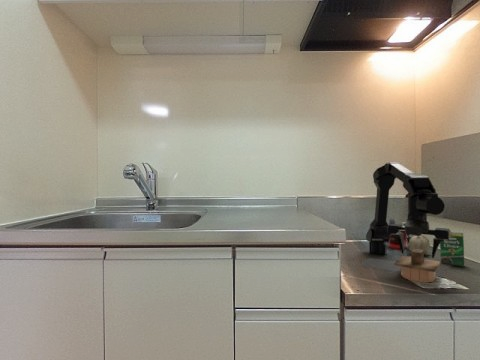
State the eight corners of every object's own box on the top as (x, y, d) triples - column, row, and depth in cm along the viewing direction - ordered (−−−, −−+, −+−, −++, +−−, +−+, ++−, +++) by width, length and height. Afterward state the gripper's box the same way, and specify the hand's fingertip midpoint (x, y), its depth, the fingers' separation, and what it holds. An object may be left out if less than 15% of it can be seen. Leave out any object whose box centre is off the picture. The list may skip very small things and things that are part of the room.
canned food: (404, 246, 152) (404, 225, 152) (408, 250, 144) (407, 227, 144) (388, 245, 154) (388, 224, 154) (390, 249, 147) (390, 227, 147)
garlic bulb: (427, 253, 139) (427, 231, 139) (435, 257, 131) (434, 235, 131) (405, 252, 141) (405, 231, 141) (411, 256, 133) (410, 234, 133)
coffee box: (439, 263, 122) (439, 231, 122) (440, 262, 124) (440, 230, 124) (464, 267, 117) (463, 234, 117) (464, 265, 119) (464, 232, 119)
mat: (358, 266, 120) (358, 265, 120) (370, 259, 130) (370, 257, 130) (396, 273, 111) (396, 272, 110) (406, 265, 121) (406, 263, 121)
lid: (394, 265, 104) (394, 251, 104) (402, 257, 114) (402, 245, 113) (434, 272, 97) (434, 257, 97) (440, 263, 106) (440, 250, 106)
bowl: (398, 279, 105) (398, 265, 105) (405, 272, 112) (405, 258, 112) (432, 285, 98) (431, 270, 98) (437, 277, 106) (436, 263, 106)
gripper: (382, 211, 105) (382, 255, 105) (446, 215, 93) (446, 265, 93) (391, 208, 113) (391, 249, 114) (450, 212, 101) (451, 258, 101)
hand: (417, 255), depth 105 cm, fingers open, 9 cm apart
